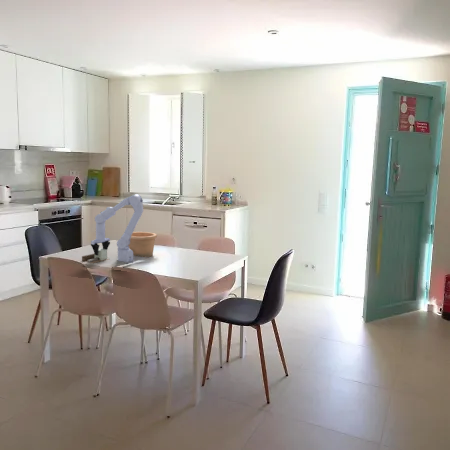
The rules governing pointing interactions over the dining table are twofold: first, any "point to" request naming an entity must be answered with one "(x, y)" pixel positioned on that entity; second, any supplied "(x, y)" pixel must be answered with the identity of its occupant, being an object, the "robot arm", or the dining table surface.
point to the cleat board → (91, 259)
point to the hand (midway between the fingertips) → (100, 254)
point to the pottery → (142, 243)
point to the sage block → (101, 254)
